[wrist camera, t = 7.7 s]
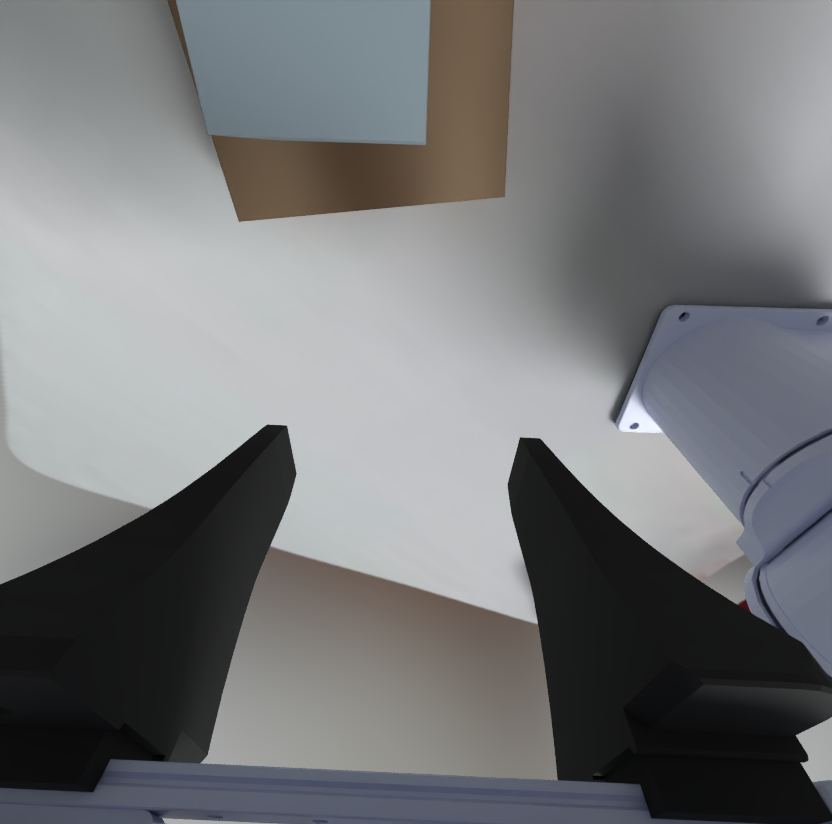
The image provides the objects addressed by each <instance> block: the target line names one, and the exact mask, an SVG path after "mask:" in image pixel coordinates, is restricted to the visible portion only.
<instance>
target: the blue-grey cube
mask: <svg viewBox="0 0 832 824" xmlns="http://www.w3.org/2000/svg"><path fill="white" fill-rule="evenodd" d="M176 3H177V7H178V11H179V16H180V20H181V24H182V28H183V32H184V36H185V41H186V45H187V49H188V53H189V57H190V62H191V66H192V70H193V74H194V78H195V82H196V87H197V91H198V95H199V99H200V103H201V107H202V112H203V116H204V120H205V124H206V128H207V133H208V135H217V136H230V137H243V138H255V139H268V140H282V141H313V142H344V143H375V144H406V145H426V129H427V100H428V70H429V41H430V11H431V0H176Z"/></svg>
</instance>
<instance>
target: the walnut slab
mask: <svg viewBox="0 0 832 824" xmlns="http://www.w3.org/2000/svg"><path fill="white" fill-rule="evenodd" d="M168 3H169V6H170V9H171V12H172V16H173V19H174V22H175V25H176V28H177V31H178V34H179V37H180V40H181V43H182V47H183V50H184V53H185V56H186V59H187V62H188V65H189V68H190V71H191V74H192V77H193V81H194V84H195V87H196V82H195V78H194V74H193V70H192V66H191V62H190V57H189V53H188V49H187V45H186V41H185V36H184V32H183V28H182V24H181V20H180V16H179V11H178V7H177V3H176V0H168ZM513 7H514V0H431V11H430V41H429V70H428V100H427V129H426V145H406V144H375V143H344V142H313V141H282V140H268V139H255V138H243V137H230V136H217V135H211V136H212V139H213V142H214V146H215V149H216V152H217V155H218V158H219V161H220V164H221V167H222V170H223V173H224V177H225V180H226V183H227V186H228V189H229V192H230V195H231V198H232V201H233V204H234V207H235V211H236V214H237V217H238V220H239V222H241V221H252V220H262V219H273V218H284V217H294V216H305V215H316V214H327V213H337V212H348V211H359V210H369V209H380V208H391V207H401V206H412V205H423V204H433V203H444V202H455V201H465V200H476V199H487V198H498V197H505V177H506V156H507V135H508V113H509V92H510V71H511V50H512V28H513ZM196 90H197V87H196ZM197 93H198V91H197ZM198 96H199V95H198Z"/></svg>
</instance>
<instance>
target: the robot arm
mask: <svg viewBox="0 0 832 824" xmlns="http://www.w3.org/2000/svg"><path fill="white" fill-rule="evenodd" d="M684 312H685V315H684V317H682V318H681V319H679V316H680V315H681V314H682V313H684ZM819 318H821V319H820V320H819V321H817V320H818V319H819ZM633 423H635V424H634V425H632V426H631V424H633ZM615 425H616V427H617V429H618V430H619V431H621V432H644V433H664V434H665V435H666V436H667V437H668V438H669V439H670V441H671V442H672V443H673V444H674V445H675V446H676V448H677V449H678V450H679V451H680V452H681V454H682V455H683V456H684V457H685V458H686V459H687V461H688V462H689V463H690V464H691V465H692V466H693V468H694V469H695V470H696V471H697V472H698V473H699V475H700V476H701V477H702V478H703V479H704V481H705V482H706V483H707V484H708V485H709V486H710V488H711V489H712V490H713V491H714V492H715V493H716V495H717V496H718V497H719V498H720V499H721V500H722V502H723V503H724V504H725V505H726V506H727V508H728V509H729V510H730V511H731V512H732V513H733V515H734V516H735V517H736V518H737V519H738V520H739V522H740V523H741V524H742V525H743V526H744V532H743V533H742V535H741V536H740V537H739V539H738V540H737V541H736V543H737V545H738V546H739V547H740V548H741V550H742V551H743V552H744V553H745V555H746V556H747V557H748V558H749V560H750V561H751V562H752V563H753V565H754V567H753V568H752V569H750V570H749V571H748V574H747V575H746V578H745V582H744V591H745V597H746V600H747V603H748V606H749V609H750V611H751V613H750V612H748V611H747V610H745V609H743V608H742V607H740V606H738V605H737V604H735V603H733V602H732V601H730V600H728V599H727V598H726V597H724V596H722V595H721V594H719V593H718V592H716V591H714V590H713V589H711V588H710V587H708V586H707V585H705V584H704V583H702V582H701V581H699V580H698V579H696V578H695V577H693V576H692V575H690V574H689V573H687V572H686V571H685V570H683V569H682V568H680V567H679V566H678V565H676V564H675V563H673V562H672V561H671V560H669V559H668V558H666V557H665V556H664V555H662V554H661V553H660V552H658V551H657V550H656V549H654V548H653V547H652V546H650V545H649V544H648V543H647V542H645V541H644V540H643V539H642V538H640V537H639V536H638V535H637V534H636V533H634V532H633V531H632V530H631V529H629V528H628V527H627V526H626V525H625V524H623V523H622V522H621V521H620V520H619V519H618V518H617V517H615V516H614V515H613V514H612V513H611V512H610V511H609V510H608V509H607V508H606V507H605V506H604V505H603V504H601V503H600V502H599V501H598V500H597V499H596V498H595V497H594V496H593V495H592V494H591V493H590V492H589V491H588V490H587V489H586V488H585V487H584V486H583V485H582V484H581V483H580V482H579V481H578V480H577V479H576V478H575V476H574V475H573V474H572V473H571V472H570V471H569V470H568V469H567V468H566V467H565V466H564V465H563V463H562V462H561V461H560V460H559V459H558V458H557V457H556V456H555V455H554V453H553V452H552V451H551V450H550V449H549V448H548V447H547V446H546V445H545V443H544V442H543V441H542V440H541V439H539V438H520V440H519V444H518V447H517V451H516V455H515V459H514V462H513V466H512V470H511V474H510V478H509V481H508V491H509V499H510V506H511V513H512V517H513V521H514V525H515V528H516V532H517V536H518V540H519V543H520V547H521V551H522V554H523V558H524V561H525V565H526V569H527V572H528V576H529V580H530V584H531V588H532V592H533V597H534V602H535V608H536V614H537V620H538V626H539V632H540V638H541V645H542V652H543V658H544V664H545V672H546V679H547V687H548V695H549V703H550V710H551V719H552V728H553V737H554V746H555V756H556V765H557V777H558V780H538V779H517V778H496V777H475V776H454V775H432V774H412V773H390V772H369V771H348V770H326V769H306V768H284V767H264V766H242V765H221V764H200V763H201V762H202V761H203V760H204V758H205V757H206V756H207V755H208V750H209V746H210V741H211V738H212V734H213V729H214V725H215V721H216V717H217V713H218V709H219V705H220V701H221V696H222V693H223V689H224V685H225V682H226V678H227V674H228V671H229V667H230V663H231V659H232V656H233V652H234V649H235V645H236V642H237V638H238V635H239V632H240V628H241V625H242V621H243V618H244V614H245V612H246V609H247V605H248V602H249V599H250V596H251V593H252V590H253V586H254V583H255V581H256V578H257V576H258V573H259V570H260V568H261V566H262V563H263V561H264V559H265V556H266V554H267V552H268V549H269V547H270V545H271V542H272V540H273V538H274V536H275V533H276V531H277V529H278V526H279V524H280V522H281V519H282V517H283V515H284V512H285V510H286V507H287V505H288V502H289V499H290V496H291V492H292V489H293V485H294V481H295V477H296V469H295V464H294V459H293V454H292V449H291V444H290V439H289V434H288V429H287V426H283V425H266V426H265V427H264V428H262V429H261V430H260V431H258V432H257V433H256V434H255V435H253V436H252V437H251V438H250V439H249V440H247V441H246V442H245V443H244V444H242V445H241V446H240V447H239V448H238V449H236V450H235V451H234V452H233V453H231V454H230V455H229V456H227V457H226V458H225V459H224V460H222V461H221V462H220V463H219V464H217V465H216V466H215V467H213V468H212V469H211V470H209V471H208V472H207V473H205V474H204V475H202V476H201V477H200V478H198V479H197V480H196V481H194V482H193V483H191V484H190V485H189V486H187V487H186V488H185V489H183V490H182V491H180V492H179V493H177V494H176V495H174V496H173V497H171V498H170V499H168V500H167V501H165V502H163V503H162V504H160V505H159V506H157V507H155V508H154V509H152V510H150V511H149V512H147V513H146V514H144V515H142V516H140V517H139V518H137V519H135V520H134V521H132V522H130V523H128V524H126V525H124V526H122V527H121V528H119V529H117V530H115V531H113V532H112V533H110V534H108V535H106V536H104V537H102V538H100V539H98V540H97V541H95V542H93V543H91V544H89V545H87V546H85V547H83V548H81V549H79V550H76V551H75V552H73V553H70V554H68V555H66V556H64V557H62V558H60V559H58V560H56V561H53V562H51V563H49V564H47V565H45V566H43V567H40V568H38V569H36V570H33V571H31V572H29V573H27V574H24V575H22V576H20V577H17V578H15V579H12V580H10V581H8V582H5V583H3V584H0V824H165V823H164V821H163V819H162V818H173V819H193V820H194V819H195V820H214V821H237V822H258V823H279V824H832V780H829V781H828V780H827V781H818V782H813V783H812V781H811V780H810V778H809V776H808V775H807V773H806V771H805V770H804V768H803V766H802V765H801V763H800V762H806V761H808V755H807V753H806V751H805V750H804V749H803V747H802V745H801V744H800V742H799V740H798V739H797V737H796V736H795V735H797V734H799V733H801V732H803V731H805V730H807V729H809V728H811V727H813V726H815V725H817V724H819V723H821V722H823V721H825V720H827V719H829V718H830V717H832V309H804V308H770V307H736V306H702V305H670V306H668V307H667V308H665V309H664V310H663V312H662V313H661V315H660V318H659V320H658V323H657V325H656V327H655V330H654V332H653V335H652V337H651V339H650V342H649V344H648V346H647V349H646V351H645V354H644V356H643V358H642V361H641V363H640V366H639V368H638V370H637V373H636V375H635V378H634V380H633V382H632V385H631V387H630V390H629V392H628V394H627V397H626V399H625V402H624V404H623V406H622V409H621V411H620V414H619V416H618V418H617V421H616V424H615Z"/></svg>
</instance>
